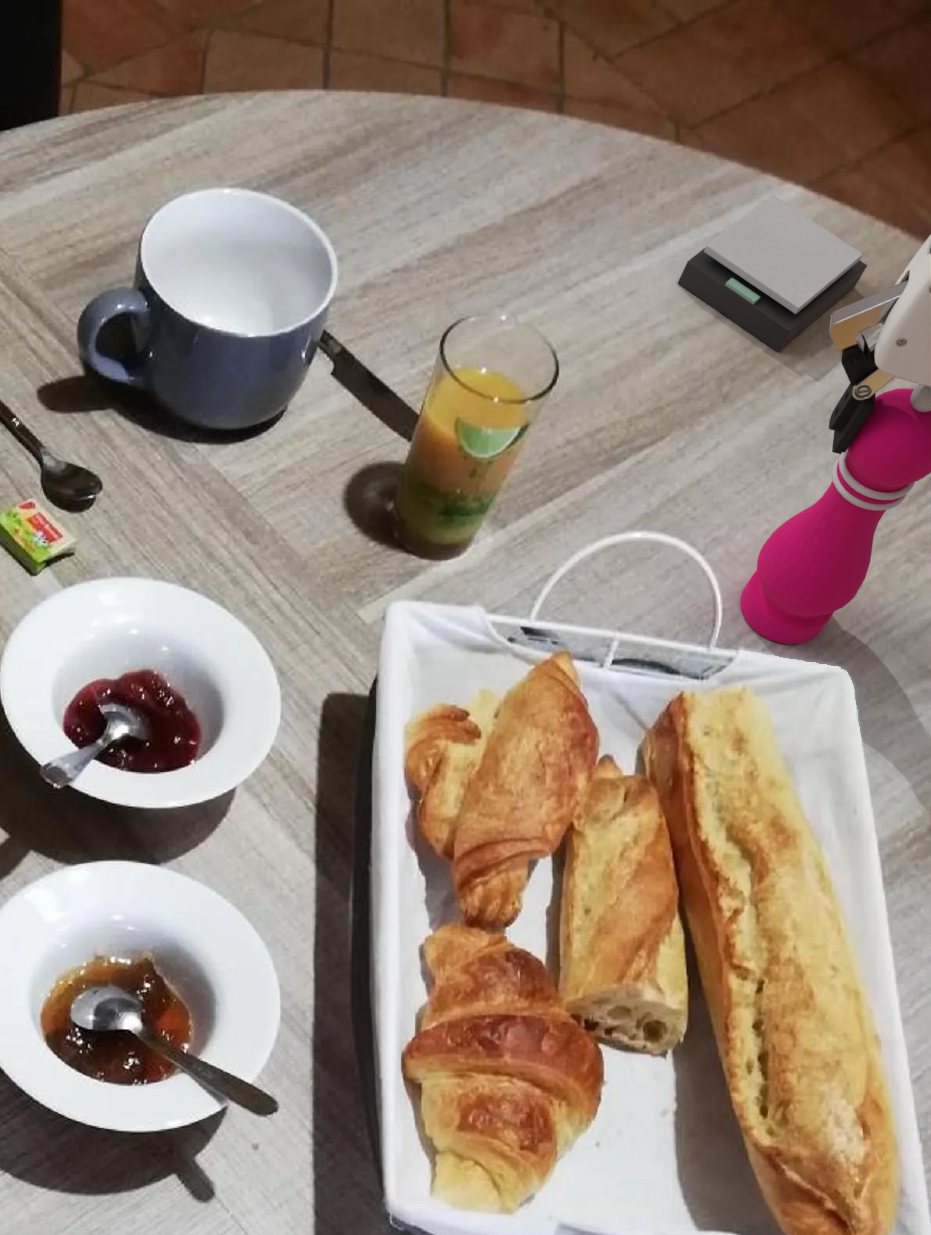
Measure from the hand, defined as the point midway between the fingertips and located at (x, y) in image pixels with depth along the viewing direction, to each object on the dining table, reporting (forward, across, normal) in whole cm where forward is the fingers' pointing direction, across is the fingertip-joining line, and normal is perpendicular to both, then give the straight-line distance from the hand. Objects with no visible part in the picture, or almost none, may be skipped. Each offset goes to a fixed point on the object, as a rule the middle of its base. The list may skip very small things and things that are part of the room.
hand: (891, 448), depth 106 cm
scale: (+15, -4, +33) cm, 37 cm away
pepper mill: (+15, 0, 0) cm, 15 cm away
